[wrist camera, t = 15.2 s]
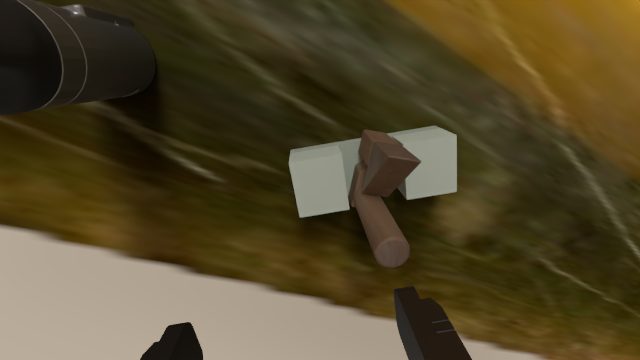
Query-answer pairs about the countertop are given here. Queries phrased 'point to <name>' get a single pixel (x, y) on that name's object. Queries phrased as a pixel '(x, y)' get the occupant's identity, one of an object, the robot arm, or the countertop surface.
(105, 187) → the countertop surface
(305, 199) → the slotted beam
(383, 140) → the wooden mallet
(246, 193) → the countertop surface
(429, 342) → the robot arm
